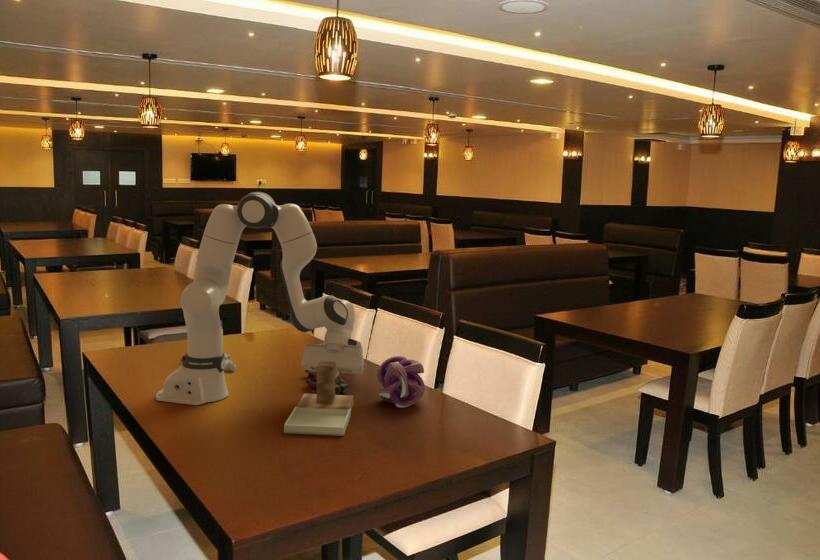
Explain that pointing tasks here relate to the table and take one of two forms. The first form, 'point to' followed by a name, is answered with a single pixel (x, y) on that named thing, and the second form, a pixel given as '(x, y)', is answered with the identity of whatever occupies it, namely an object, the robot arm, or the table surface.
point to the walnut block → (325, 382)
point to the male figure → (229, 363)
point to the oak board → (339, 403)
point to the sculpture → (401, 381)
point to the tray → (317, 421)
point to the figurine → (339, 383)
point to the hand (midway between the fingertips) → (328, 382)
